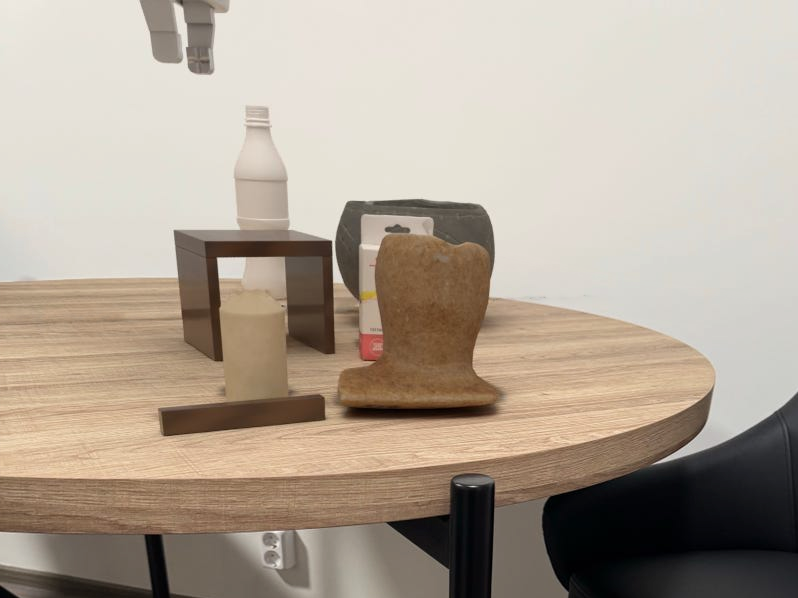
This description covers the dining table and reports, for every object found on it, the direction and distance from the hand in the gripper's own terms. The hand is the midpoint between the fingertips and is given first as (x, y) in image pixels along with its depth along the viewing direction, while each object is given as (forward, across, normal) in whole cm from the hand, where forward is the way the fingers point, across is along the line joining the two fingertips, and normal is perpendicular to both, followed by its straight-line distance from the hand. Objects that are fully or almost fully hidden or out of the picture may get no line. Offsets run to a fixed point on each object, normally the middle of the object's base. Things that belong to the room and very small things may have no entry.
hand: (186, 68), depth 71 cm
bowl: (+26, -50, +15) cm, 58 cm away
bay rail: (+26, +4, +3) cm, 27 cm away
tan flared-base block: (+27, -6, +17) cm, 32 cm away
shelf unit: (+25, -30, -3) cm, 39 cm away
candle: (+26, -3, +2) cm, 27 cm away
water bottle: (+25, -60, -7) cm, 65 cm away
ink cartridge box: (+26, -28, +14) cm, 40 cm away
